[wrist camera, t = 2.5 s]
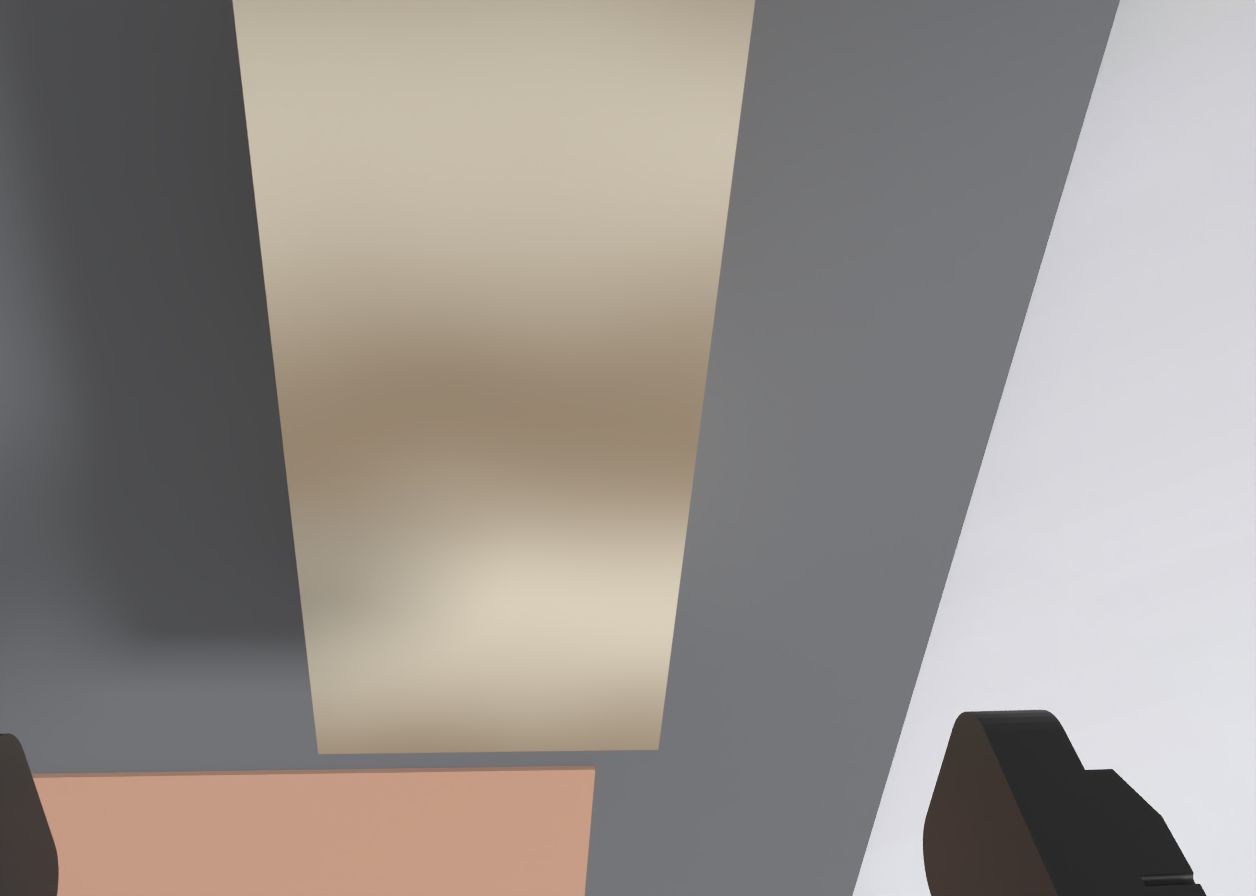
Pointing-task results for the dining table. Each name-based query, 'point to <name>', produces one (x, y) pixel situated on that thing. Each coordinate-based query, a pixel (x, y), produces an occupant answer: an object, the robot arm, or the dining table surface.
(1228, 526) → the dining table surface
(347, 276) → the cream block
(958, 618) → the dining table surface
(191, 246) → the rubber mat
